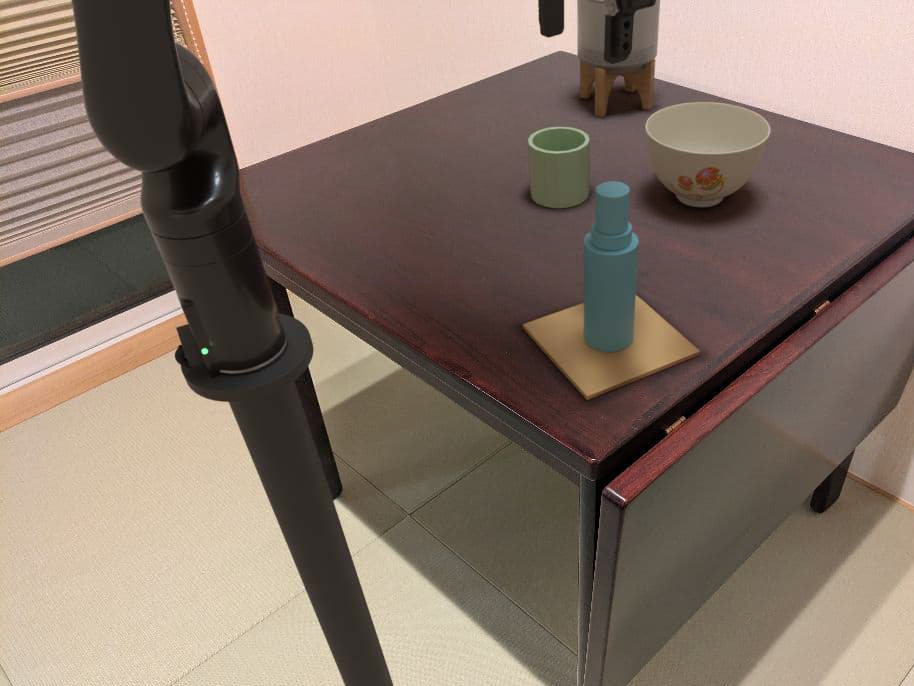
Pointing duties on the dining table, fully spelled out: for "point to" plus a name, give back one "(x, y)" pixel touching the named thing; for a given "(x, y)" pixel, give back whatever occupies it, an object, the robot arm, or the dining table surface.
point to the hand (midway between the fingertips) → (583, 47)
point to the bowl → (705, 149)
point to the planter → (633, 69)
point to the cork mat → (609, 370)
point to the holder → (559, 166)
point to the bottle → (610, 271)
